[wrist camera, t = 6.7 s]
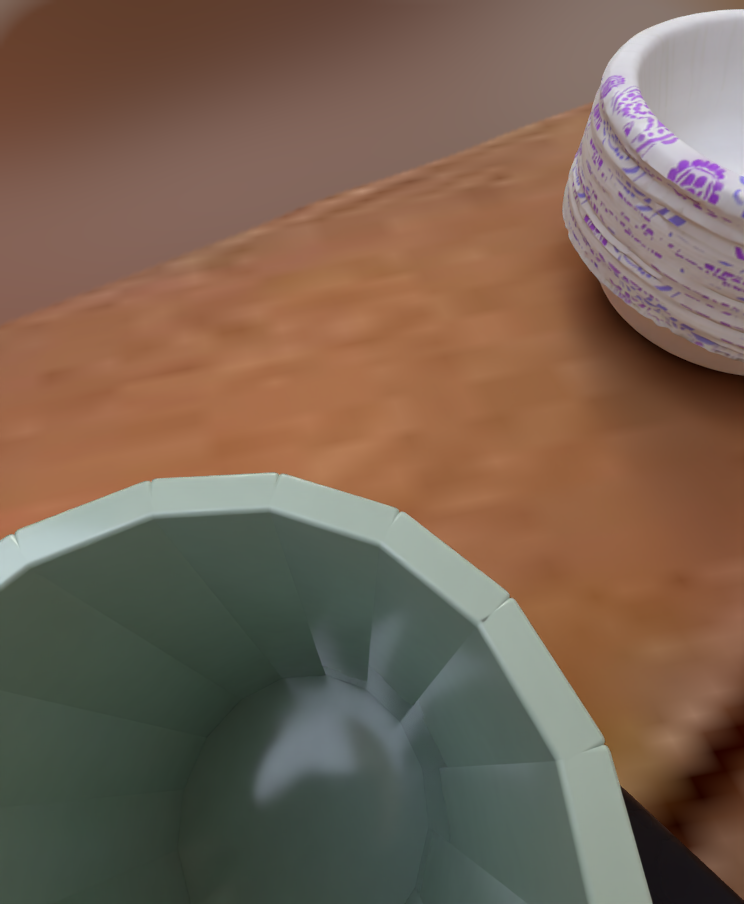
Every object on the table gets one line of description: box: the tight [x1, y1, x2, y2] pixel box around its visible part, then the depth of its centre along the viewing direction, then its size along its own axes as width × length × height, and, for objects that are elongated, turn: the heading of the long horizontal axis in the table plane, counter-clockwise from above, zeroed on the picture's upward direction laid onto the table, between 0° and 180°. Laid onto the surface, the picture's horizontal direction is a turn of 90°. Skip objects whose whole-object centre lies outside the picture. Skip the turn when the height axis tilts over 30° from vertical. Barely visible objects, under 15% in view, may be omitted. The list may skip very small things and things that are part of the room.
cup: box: [0, 472, 653, 904], centre depth 8 cm, size 6×6×10 cm
